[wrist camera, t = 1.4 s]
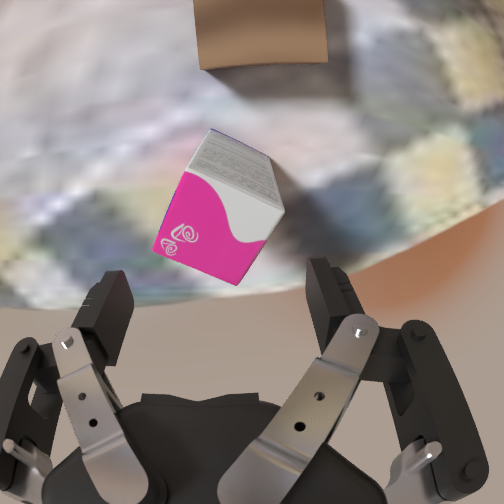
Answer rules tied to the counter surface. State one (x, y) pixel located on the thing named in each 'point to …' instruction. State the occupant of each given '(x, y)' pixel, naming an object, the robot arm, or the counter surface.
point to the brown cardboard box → (259, 32)
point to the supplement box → (221, 209)
